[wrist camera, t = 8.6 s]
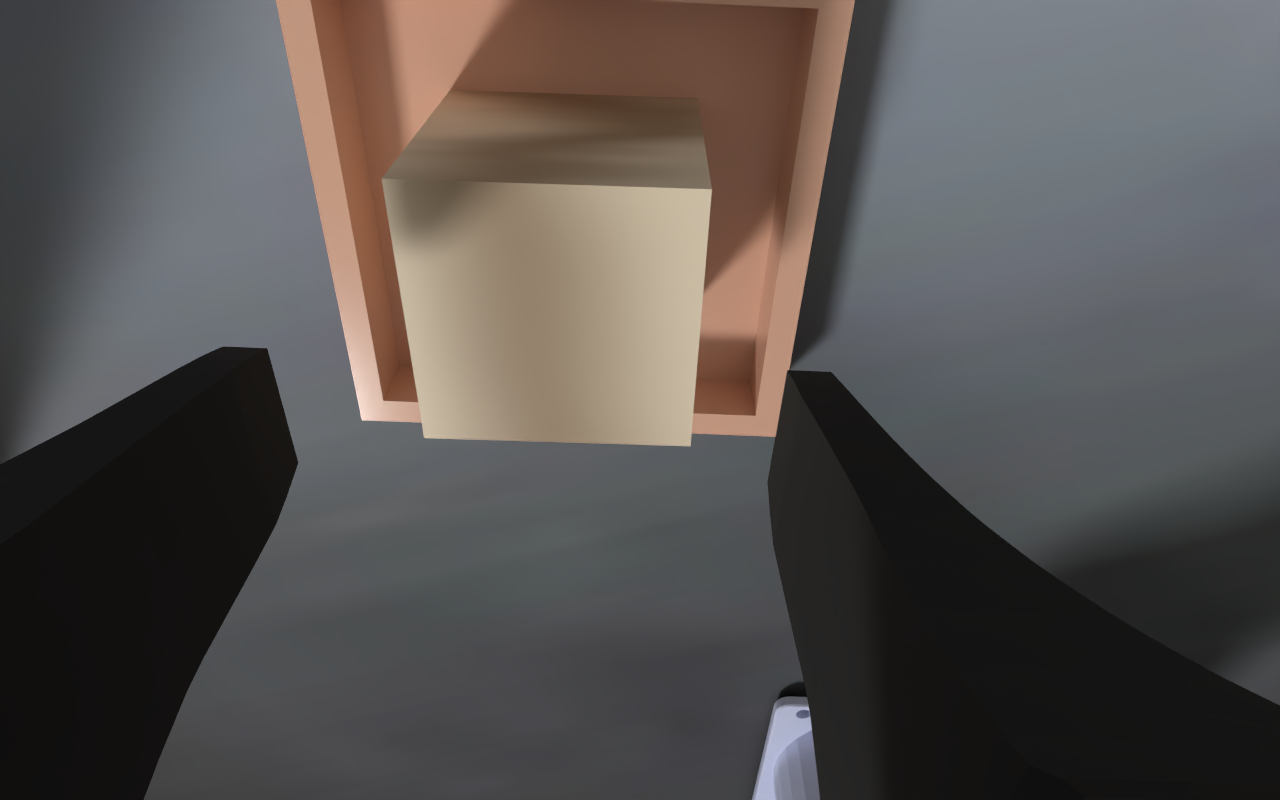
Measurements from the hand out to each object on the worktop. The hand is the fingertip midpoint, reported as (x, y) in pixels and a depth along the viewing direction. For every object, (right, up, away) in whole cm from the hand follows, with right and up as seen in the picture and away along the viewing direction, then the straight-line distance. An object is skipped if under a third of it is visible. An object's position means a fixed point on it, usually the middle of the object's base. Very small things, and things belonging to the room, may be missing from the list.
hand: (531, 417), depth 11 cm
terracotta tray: (0, +5, +7) cm, 8 cm away
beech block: (0, +4, +6) cm, 8 cm away
